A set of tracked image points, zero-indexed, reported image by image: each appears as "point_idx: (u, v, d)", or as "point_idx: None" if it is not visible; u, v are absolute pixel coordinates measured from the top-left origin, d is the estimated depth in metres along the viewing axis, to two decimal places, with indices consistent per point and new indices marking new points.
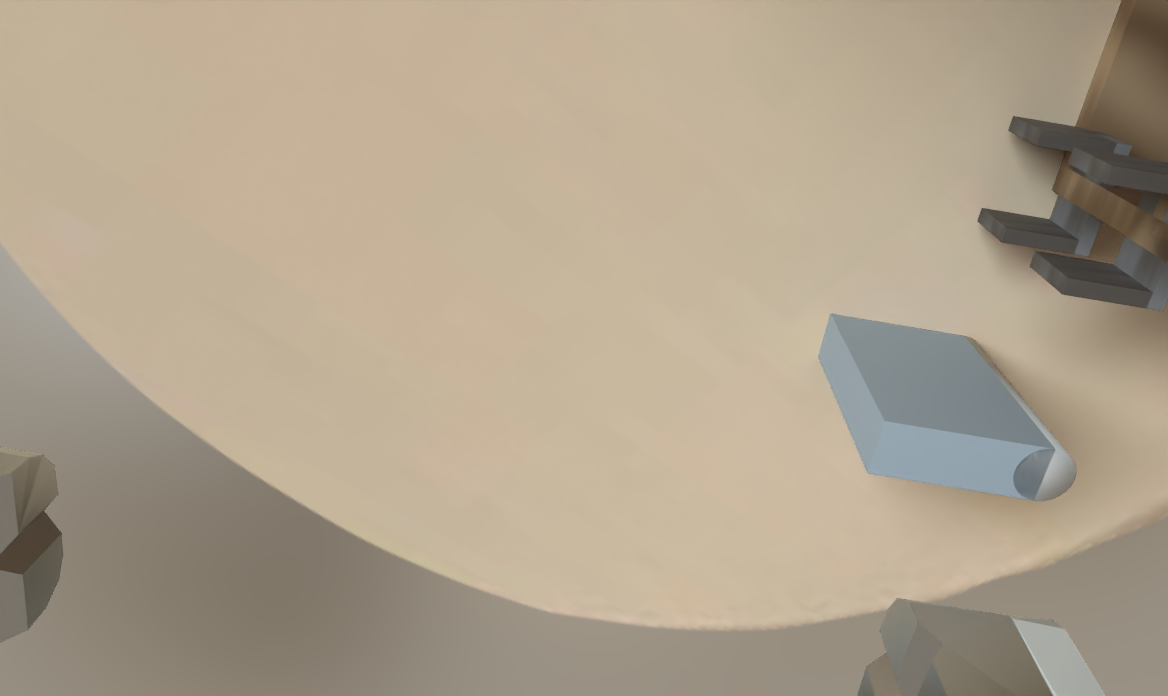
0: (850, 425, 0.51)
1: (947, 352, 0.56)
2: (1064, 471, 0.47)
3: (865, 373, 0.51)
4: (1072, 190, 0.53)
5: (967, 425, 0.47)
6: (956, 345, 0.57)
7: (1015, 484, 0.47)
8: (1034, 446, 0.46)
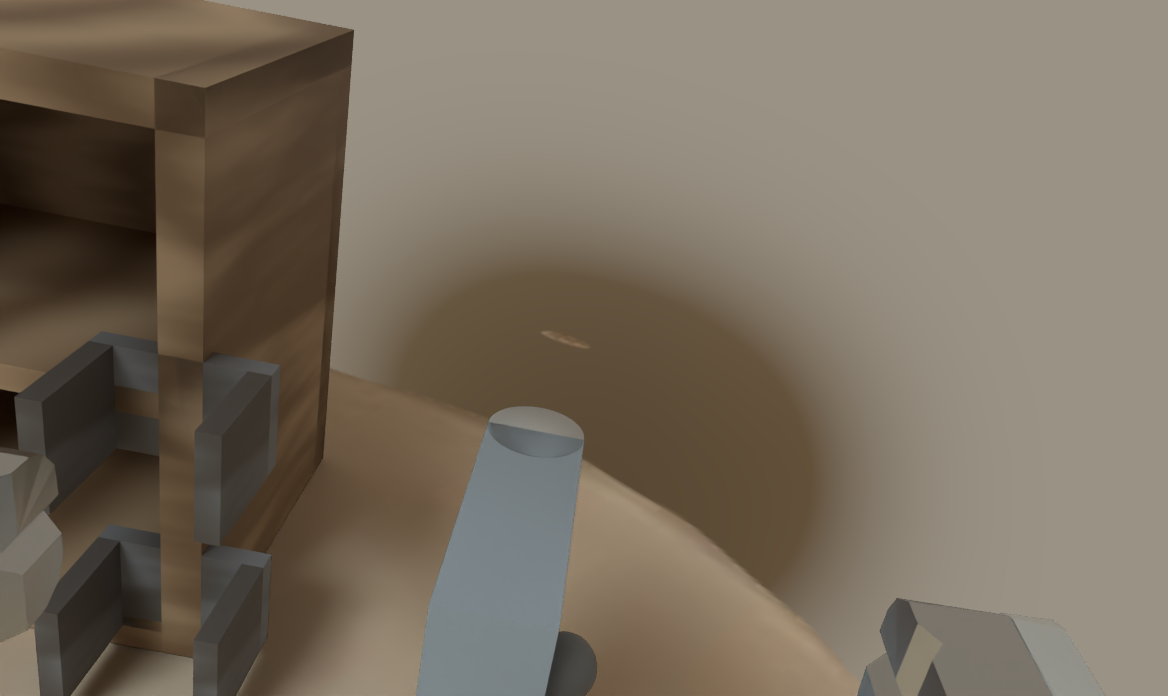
0: None
1: None
2: (527, 415, 0.30)
3: None
4: (185, 610, 0.36)
5: None
6: None
7: (557, 456, 0.28)
8: (484, 439, 0.28)
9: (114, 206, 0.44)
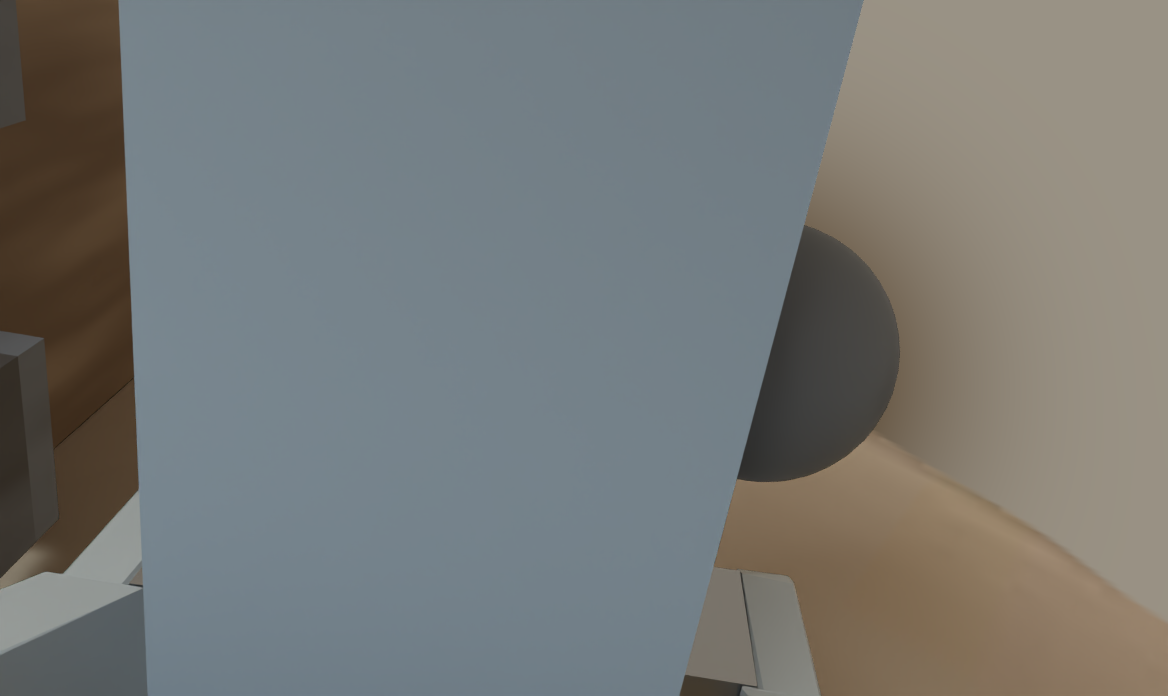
0: None
1: None
2: None
3: None
4: None
5: None
6: None
7: None
8: None
9: None
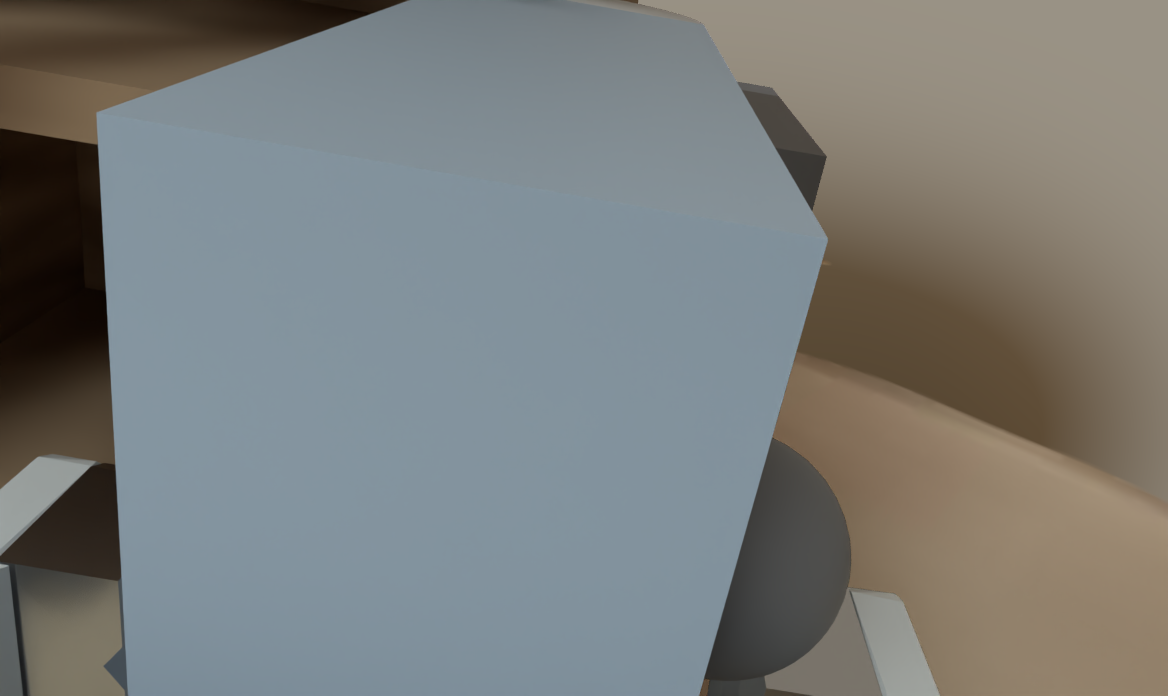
0: None
1: None
2: None
3: None
4: None
5: None
6: None
7: (645, 25, 0.10)
8: None
9: None
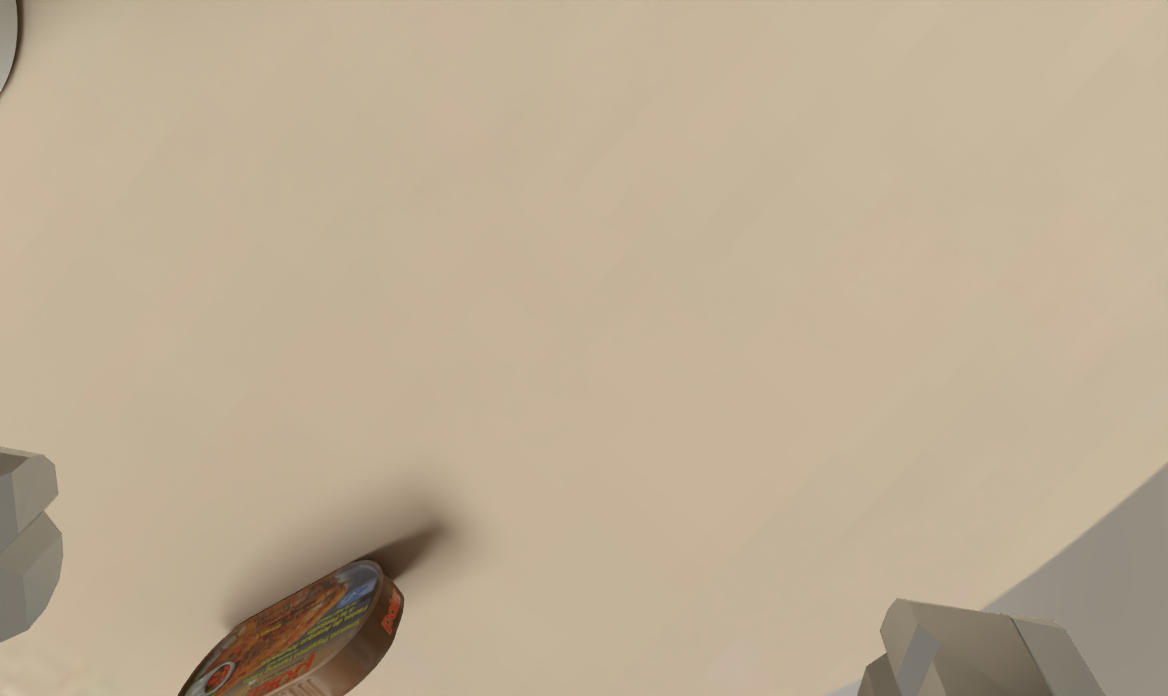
0: None
1: None
2: None
3: None
4: None
5: None
6: None
7: None
8: None
9: None
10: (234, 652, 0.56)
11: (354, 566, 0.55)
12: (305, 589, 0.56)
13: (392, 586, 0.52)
